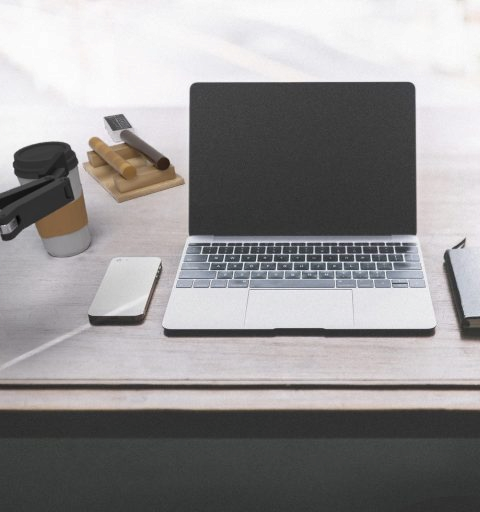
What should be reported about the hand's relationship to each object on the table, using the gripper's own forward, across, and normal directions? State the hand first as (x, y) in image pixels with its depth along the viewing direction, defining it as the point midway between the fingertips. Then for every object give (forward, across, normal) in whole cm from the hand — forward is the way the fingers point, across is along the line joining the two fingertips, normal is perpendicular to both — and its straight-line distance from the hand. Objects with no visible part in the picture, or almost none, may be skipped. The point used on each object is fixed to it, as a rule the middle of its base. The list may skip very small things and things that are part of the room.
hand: (4, 165), depth 72 cm
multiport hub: (+61, -4, -18) cm, 63 cm away
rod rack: (+37, +4, -18) cm, 41 cm away
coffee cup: (+12, 0, -18) cm, 21 cm away
